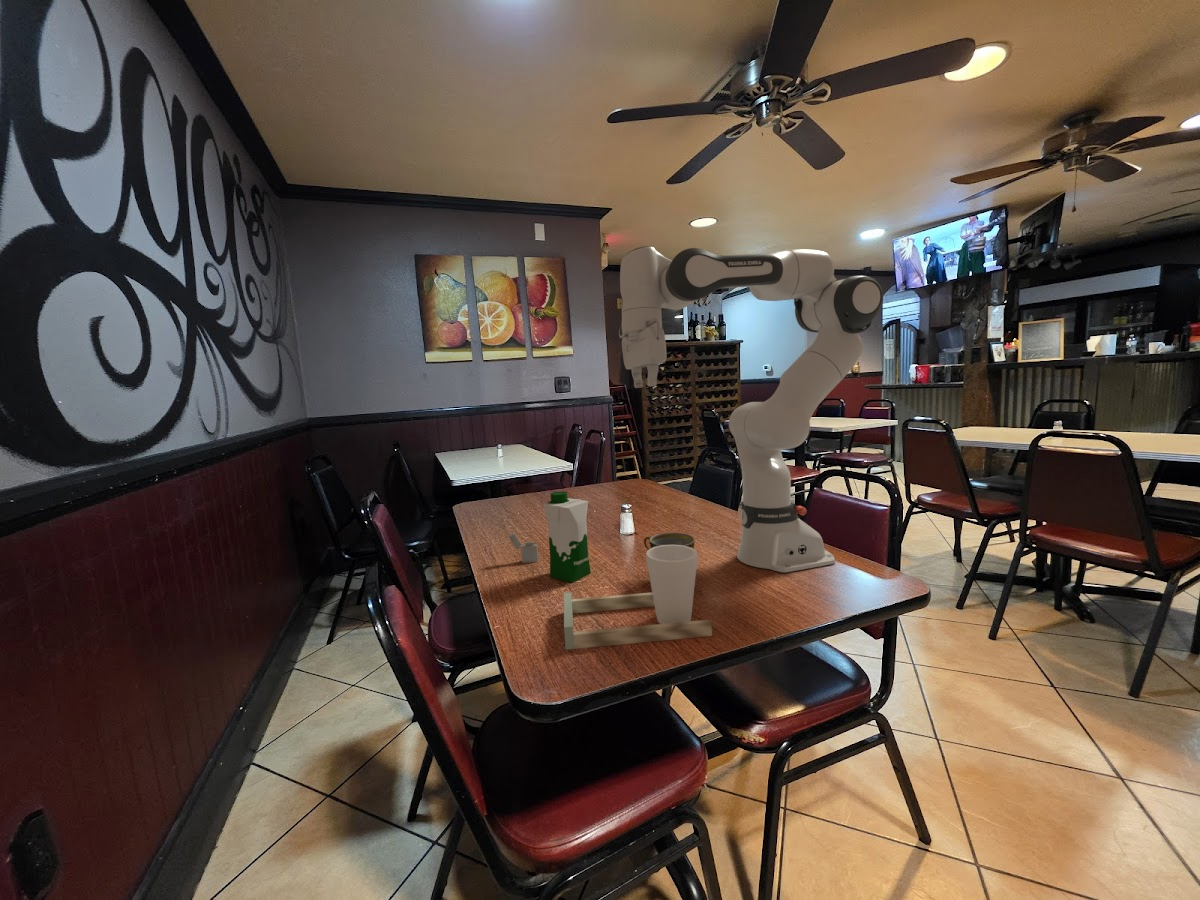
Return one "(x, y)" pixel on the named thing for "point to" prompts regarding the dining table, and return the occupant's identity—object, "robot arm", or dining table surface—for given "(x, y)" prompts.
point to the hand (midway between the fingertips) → (645, 387)
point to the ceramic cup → (670, 540)
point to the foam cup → (672, 581)
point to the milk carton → (567, 537)
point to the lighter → (525, 549)
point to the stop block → (568, 621)
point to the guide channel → (637, 632)
